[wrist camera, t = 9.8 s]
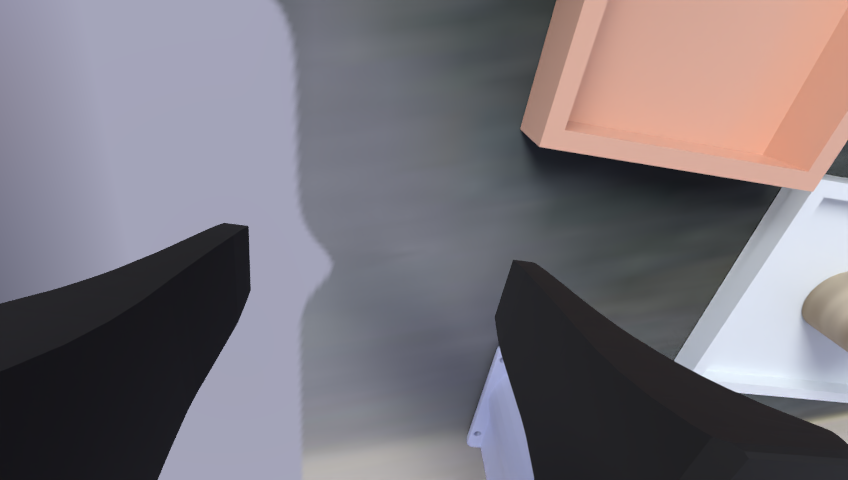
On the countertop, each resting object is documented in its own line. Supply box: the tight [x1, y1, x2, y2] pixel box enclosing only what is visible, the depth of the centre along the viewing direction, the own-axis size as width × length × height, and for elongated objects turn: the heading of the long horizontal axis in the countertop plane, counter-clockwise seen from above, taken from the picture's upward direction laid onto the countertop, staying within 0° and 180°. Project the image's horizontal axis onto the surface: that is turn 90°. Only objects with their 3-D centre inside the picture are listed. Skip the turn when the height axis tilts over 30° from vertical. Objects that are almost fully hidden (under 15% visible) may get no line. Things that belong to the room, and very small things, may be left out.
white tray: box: [674, 174, 848, 403], centre depth 24 cm, size 14×14×2 cm
